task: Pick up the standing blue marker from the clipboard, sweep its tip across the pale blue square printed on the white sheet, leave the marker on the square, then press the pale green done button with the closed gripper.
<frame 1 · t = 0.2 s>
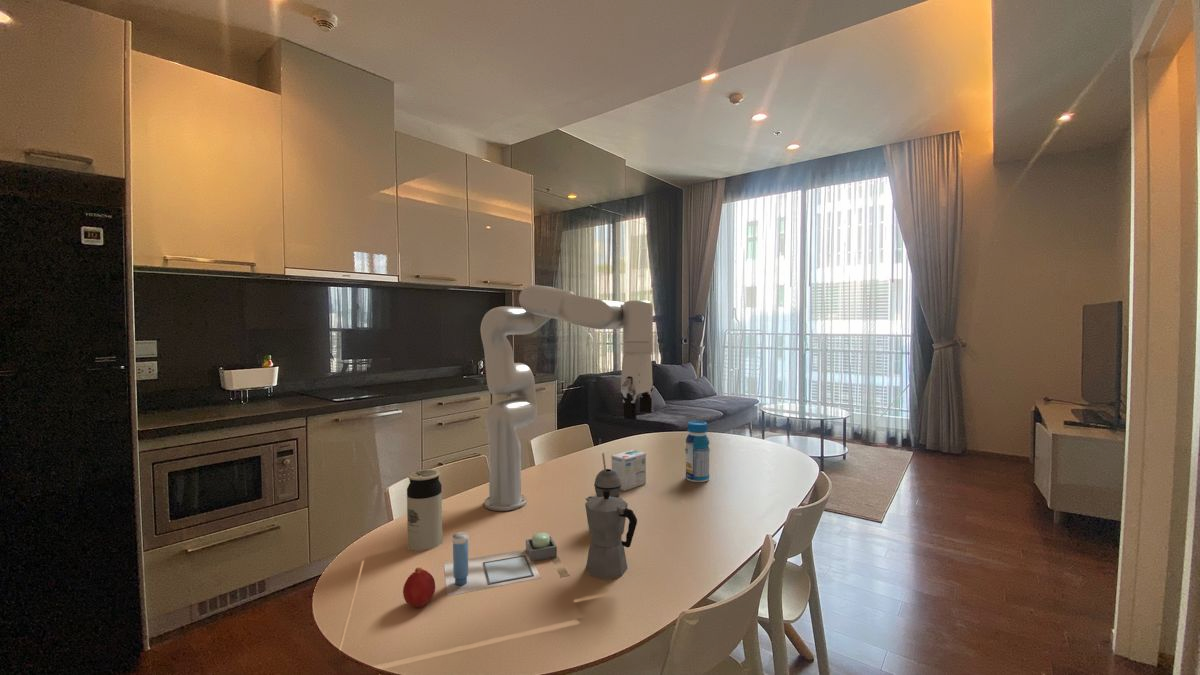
hand: (638, 415, 121), 31 cm above the table, tool pointing down, fingers open, 9 cm apart
travel mug: (425, 546, 117), on the table
marker: (461, 582, 98), point 1 cm above the table, touching clipboard
button housing: (541, 554, 111), resting on clipboard
clipboard: (502, 571, 104), on the table
beverage bottle: (697, 479, 167), on the table
onion: (419, 608, 91), on the table
coffeepot: (610, 573, 103), on the table
done button: (540, 541, 111), point 4 cm above the table, slide at 0.0 cm
light bulb box: (628, 485, 161), on the table
beverage cup: (607, 528, 127), on the table
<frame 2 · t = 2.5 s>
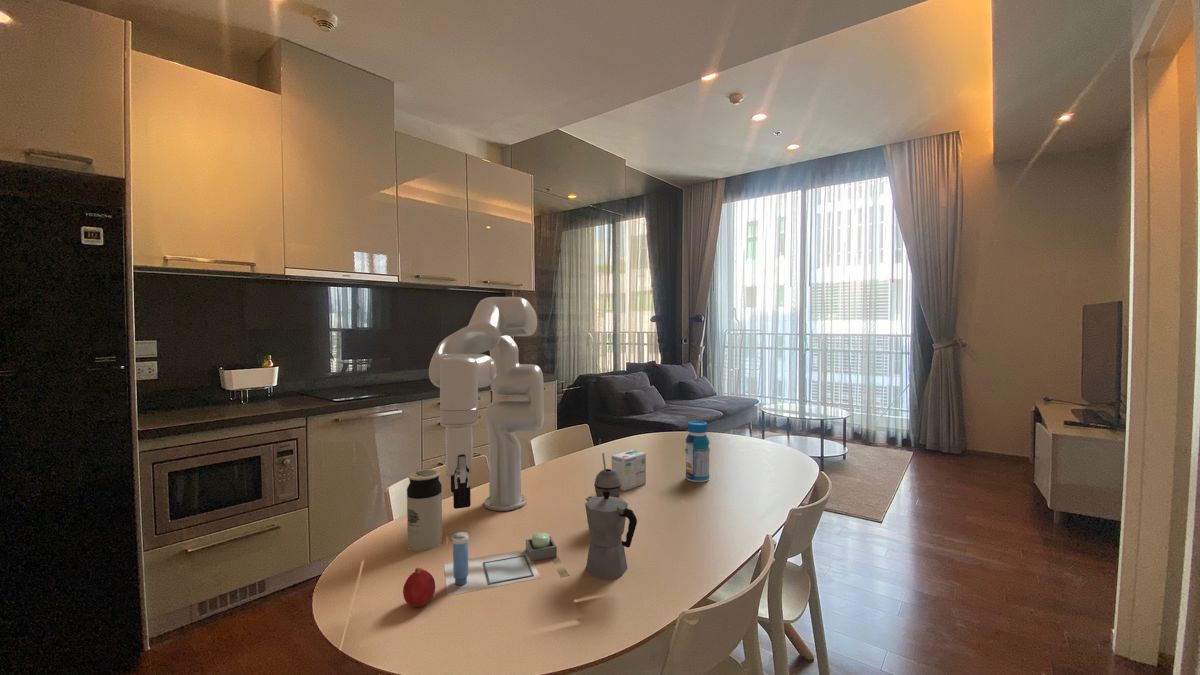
hand: (460, 499, 98), 18 cm above the table, tool pointing down, fingers open, 9 cm apart
nothing on the table moved.
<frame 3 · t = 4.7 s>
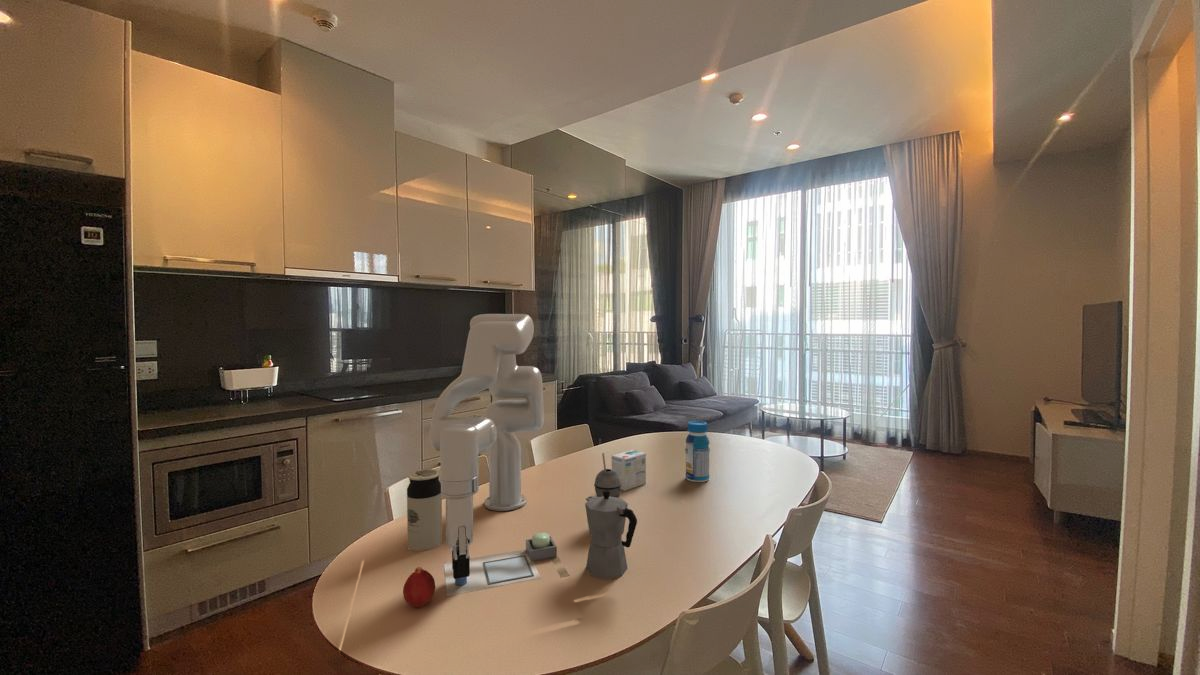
hand: (460, 571, 98), 3 cm above the table, tool pointing down, fingers closed on marker, 3 cm apart
marker: (461, 583, 98), point 1 cm above the table, touching clipboard, gripper
everything else where it was.
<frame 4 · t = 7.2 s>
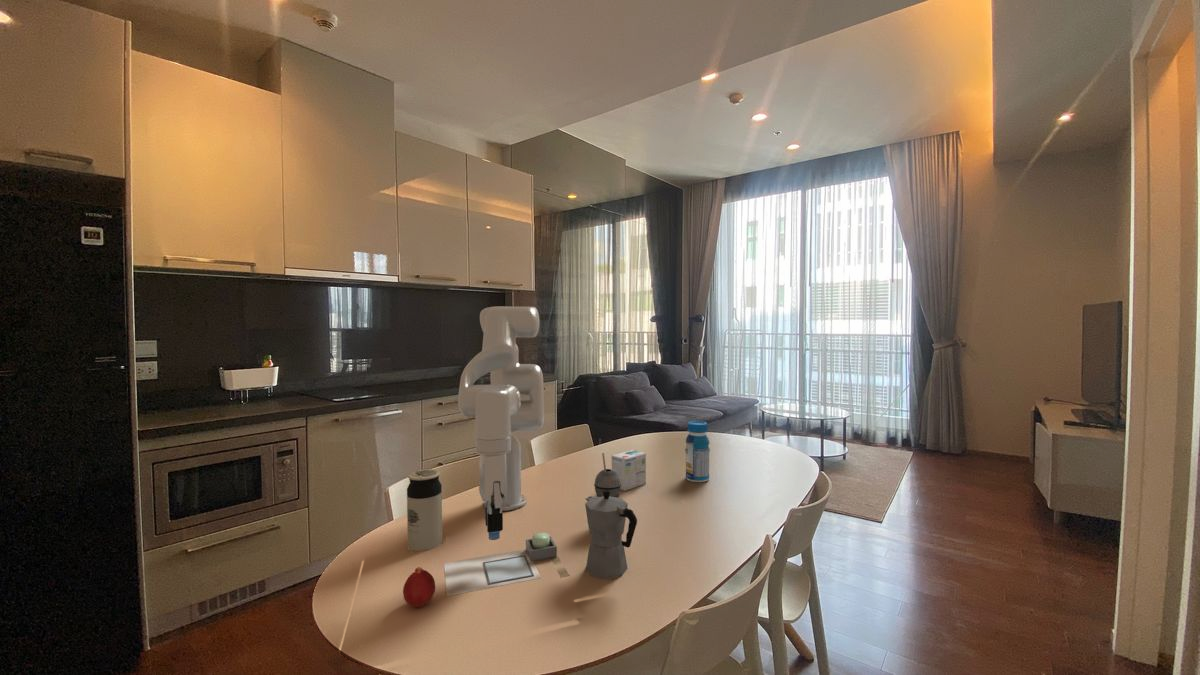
hand: (494, 527, 104), 10 cm above the table, tool pointing down, fingers closed on marker, 3 cm apart
marker: (494, 537, 104), point 7 cm above the table, touching gripper
everything else where it was.
when the fingers open (3 cm above the table, at t = 9.7 s): marker stays where it is, resting on clipboard.
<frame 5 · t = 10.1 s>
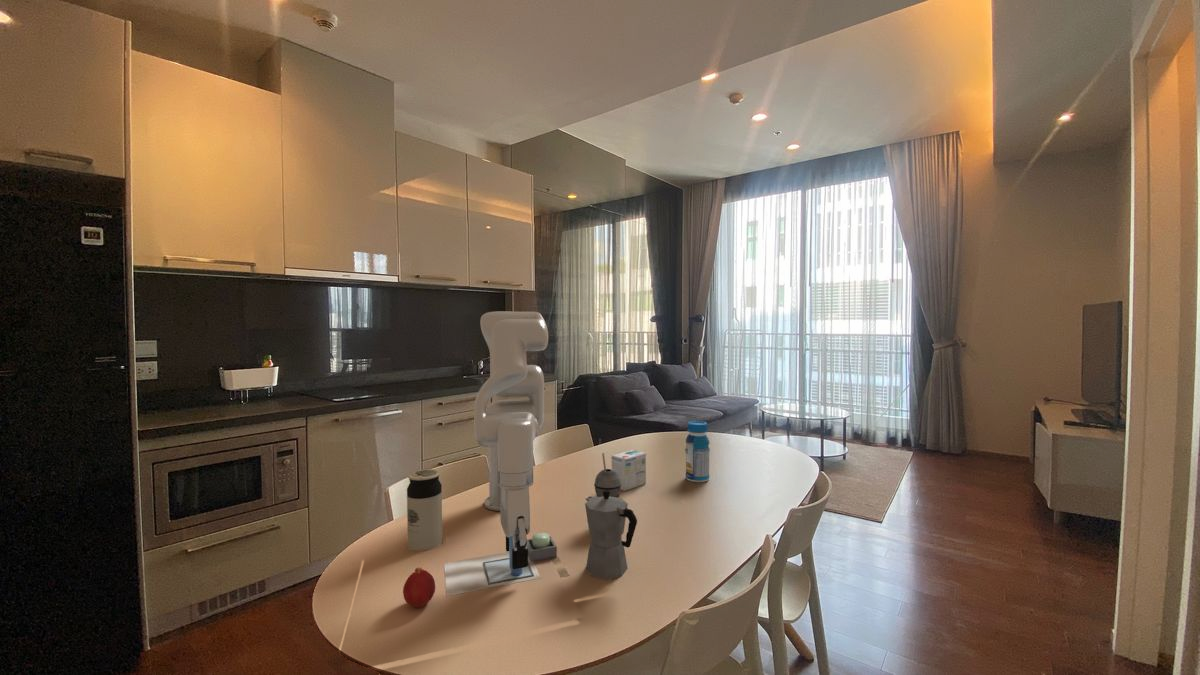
hand: (516, 557, 102), 4 cm above the table, tool pointing down, fingers open, 7 cm apart
marker: (516, 573, 102), point 1 cm above the table, touching clipboard
everything else where it was.
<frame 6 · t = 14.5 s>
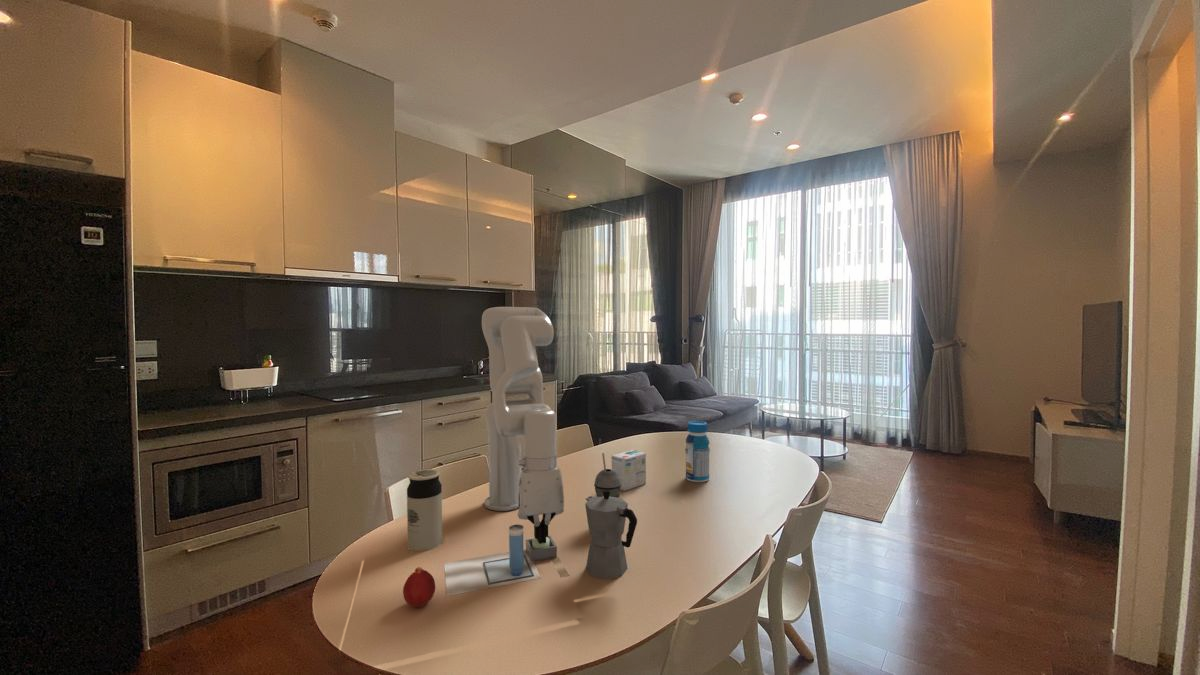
hand: (541, 540, 111), 4 cm above the table, tool pointing down, fingers closed
done button: (540, 545, 111), point 3 cm above the table, slide at 0.9 cm, touching gripper
everything else where it was.
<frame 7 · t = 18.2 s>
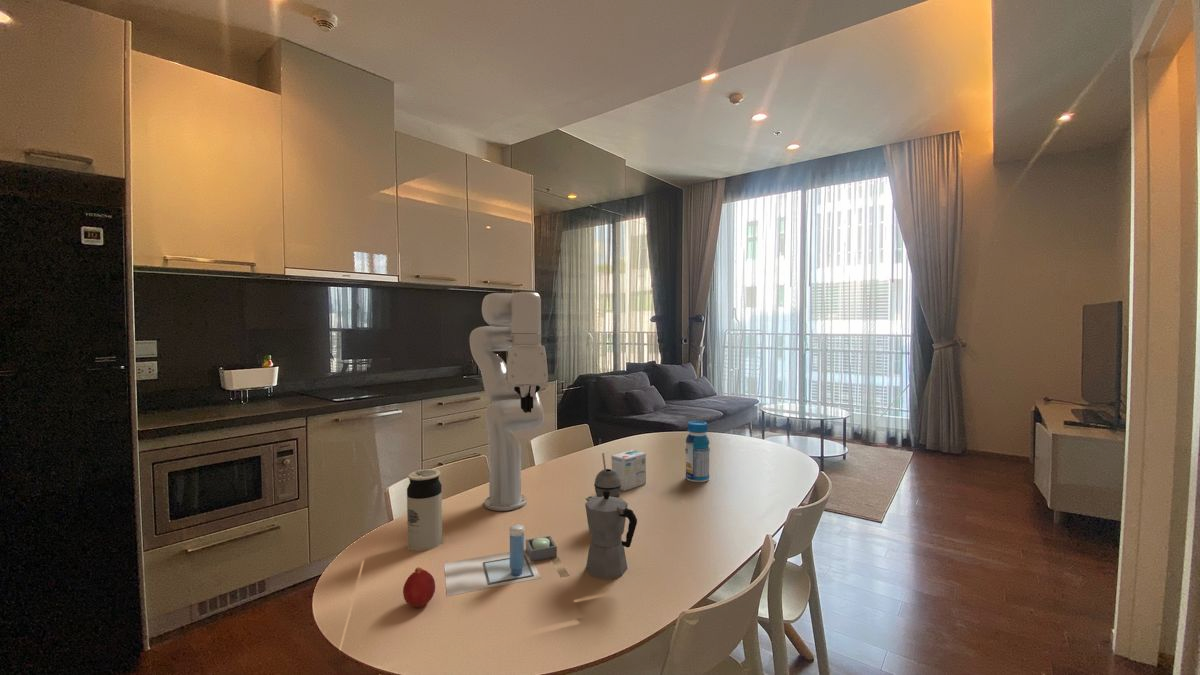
hand: (527, 411, 122), 32 cm above the table, tool pointing down, fingers closed
done button: (541, 546, 111), point 2 cm above the table, slide at 1.2 cm
everything else where it was.
at the end: done button slide at 1.2 cm; marker inside the target area (2.9 cm from its centre), point 0.8 cm above the table; the gripper is holding nothing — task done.
